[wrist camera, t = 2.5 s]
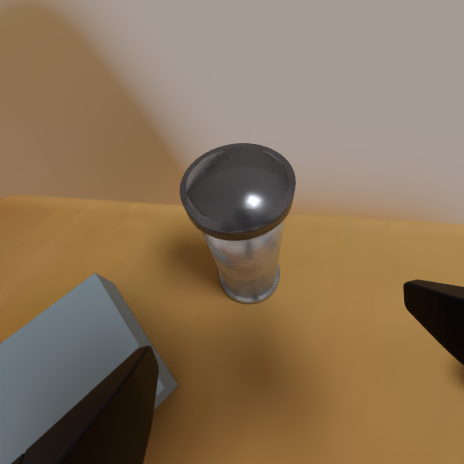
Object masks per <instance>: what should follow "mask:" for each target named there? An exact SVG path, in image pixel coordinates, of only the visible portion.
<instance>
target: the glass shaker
mask: <svg viewBox="0 0 464 464" xmlns="http://www.w3.org/2000/svg"><path fill="white" fill-rule="evenodd" d="M295 184H296V182H295V174H294V171H293V169H292V167H291V165H290V164H289V162H288V161H287V160H286V159H285V158H284V157H283V156H282V155H281V154H279V153H278V152H276V151H274V150H272V149H270V148H267V147H264V146H261V145H256V144H248V143H238V144H230V145H226V146H222V147H218V148H216V149H213V150H211V151H209V152H207V153H205V154H203V155H202V156H200V157H199V158H198V159H196V160H195V161H194V162H193V163H192V164H191V165H190V166H189V168H188V169H187V170H186V172H185V174H184V176H183V178H182V181H181V184H180V197H181V201H182V203H183V206H184V208H185V210H186V212H187V214H188V216H189V218H190V220H191V221H192V223H193V224H194V225H195V226H196V227H197V228H198V229H199V230H201V231H202V233H203V236H204V238H205V240H206V242H207V245H208V247H209V249H210V251H211V254H212V256H213V258H214V261H215V263H216V265H217V267H218V270H219V277H220V282H221V284H222V286H223V289H224V290H225V292H226V293H227V294H228V295H229V296H230V297H231V298H232V299H234V300H235V301H237V302H240V303H244V304H256V303H260V302H262V301H264V300H266V299H267V298H269V297H270V296H271V295H272V294H273V293H274V291H275V290H276V288H277V286H278V282H279V276H280V270H279V265H278V260H279V253H280V245H281V238H282V231H283V224H284V219H285V218H286V216H287V215H288V213H289V211H290V209H291V206H292V203H293V197H294V191H295Z"/></svg>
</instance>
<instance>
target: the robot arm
mask: <svg viewBox="0 0 464 464" xmlns="http://www.w3.org/2000/svg"><path fill="white" fill-rule="evenodd" d="M403 289H404V303H405V306H406V308H407V310H408V311H409V312H410V313H411V314H412V315H413V316H414V317H415V318H416V319H417V320H418V321H419V323H420V324H421V325H422V326H423V327H424V328H425V329H426V330H427V331H428V332H429V333H430V334H431V335H432V336H433V337H434V338H435V339H436V340H437V341H438V342H439V343H440V344H441V345H442V346H443V347H444V348H445V349H446V350H447V351H448V352H449V353H450V354H451V355H452V356H454V357H455V358H456V359H457V360H458V361H459V362H460V363H462V364H463V365H464V287H461V286H455V285H449V284H443V283H436V282H430V281H424V280H412V281H408V282H406V283H404V286H403ZM158 375H159V365H158V362H157V359H156V357H155V354H154V351H153V349H152V347H151V346H149V345H148V346H144V347H139V348H137V349H136V350H135V351H134V352H133V353H132V354H131V355H130V356H129V357H127V358H126V359H125V360H124V361H123V362H122V363H121V364H120V365H119V366H118V367H117V368H115V369H114V370H113V371H112V372H111V373H110V374H109V375H108V376H107V377H106V378H104V379H103V380H102V381H101V382H100V383H99V384H98V385H97V386H96V387H95V388H94V389H92V390H91V391H90V392H89V393H88V394H87V395H86V396H85V397H84V398H83V399H81V400H80V401H79V402H78V403H77V404H76V405H75V406H74V407H73V408H72V409H71V410H69V411H68V412H67V413H66V414H65V415H64V416H63V417H62V418H61V419H60V420H58V421H57V422H56V423H55V424H54V425H53V426H52V427H51V428H50V429H49V430H48V431H46V432H45V433H44V434H43V435H42V436H41V437H40V438H39V439H38V440H37V441H35V442H34V443H33V444H32V445H31V446H30V447H29V448H28V449H27V450H26V451H25V453H23V454H21V455H20V456H19V457H18V458H17V459H16V460H15V461H13V462H12V463H11V464H143V461H144V457H145V452H146V448H147V444H148V439H149V435H150V430H151V425H152V420H153V413H154V406H155V398H156V391H157V383H158Z"/></svg>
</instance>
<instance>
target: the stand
mask: <svg viewBox="0 0 464 464" xmlns="http://www.w3.org/2000/svg"><path fill="white" fill-rule="evenodd" d="M148 345H149V346H151V347H152V349H153V351H154V354H155V357H156V359H157V362H158V365H159V375H158V383H157V391H156V398H155V406H154V410H155V409H156V408H157V407H158V406H159V405H160V404H161V403H162V402H163V401H164V400H165V399H166V398H167V397H168V396H169V395H170V394H171V393H172V392H173V391H174V389H175V388H176V387H177V386H178V384H177V382H176V381H175V379H174V378H173V376H172V375H171V373H170V371H169V370H168V368H167V367H166V365H165V364H164V362H163V360H162V359H161V357H160V356H159V354H158V353H157V351H156V349H155V348H154V346H153V345H152V343H151V342H150V340H149V338H148V337H147V335H146V334H145V332H144V331H143V329H142V327H141V326H140V324H139V323H138V321H137V320H136V318H135V317H134V315H133V313H132V312H131V310H130V309H129V307H128V306H127V304H126V302H125V301H124V299H123V298H122V296H121V295H120V293H119V291H118V290H117V288H116V287H115V285H114V284H113V283H112V282H110V281H109V280H107V279H105V278H103V277H102V276H100V275H98V274H97V273H94V274H93V275H92V276H90V277H89V278H88V279H86V280H85V281H84V282H82V283H81V284H80V285H78V286H77V287H76V288H74V289H73V290H72V291H70V292H69V293H68V294H66V295H65V296H64V297H62V298H61V299H60V300H58V301H57V302H56V303H54V304H53V305H52V306H50V307H49V308H48V309H46V310H45V311H44V312H42V313H41V314H40V315H38V316H37V317H36V318H34V319H33V320H32V321H30V322H29V323H28V324H26V325H25V326H24V327H22V328H21V329H20V330H18V331H17V332H16V333H14V334H13V335H12V336H10V337H9V338H8V339H6V340H5V341H4V342H2V343H1V344H0V464H11V463H12V462H13V461H15V460H16V459H17V458H18V457H19V456H20V455H21V454H23V453H25V451H26V450H27V449H28V448H29V447H30V446H31V445H32V444H33V443H34V442H35V441H37V440H38V439H39V438H40V437H41V436H42V435H43V434H44V433H45V432H46V431H48V430H49V429H50V428H51V427H52V426H53V425H54V424H55V423H56V422H57V421H58V420H60V419H61V418H62V417H63V416H64V415H65V414H66V413H67V412H68V411H69V410H71V409H72V408H73V407H74V406H75V405H76V404H77V403H78V402H79V401H80V400H81V399H83V398H84V397H85V396H86V395H87V394H88V393H89V392H90V391H91V390H92V389H94V388H95V387H96V386H97V385H98V384H99V383H100V382H101V381H102V380H103V379H104V378H106V377H107V376H108V375H109V374H110V373H111V372H112V371H113V370H114V369H115V368H117V367H118V366H119V365H120V364H121V363H122V362H123V361H124V360H125V359H126V358H127V357H129V356H130V355H131V354H132V353H133V352H134V351H135V350H136V349H137V348H139V347H144V346H148Z"/></svg>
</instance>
